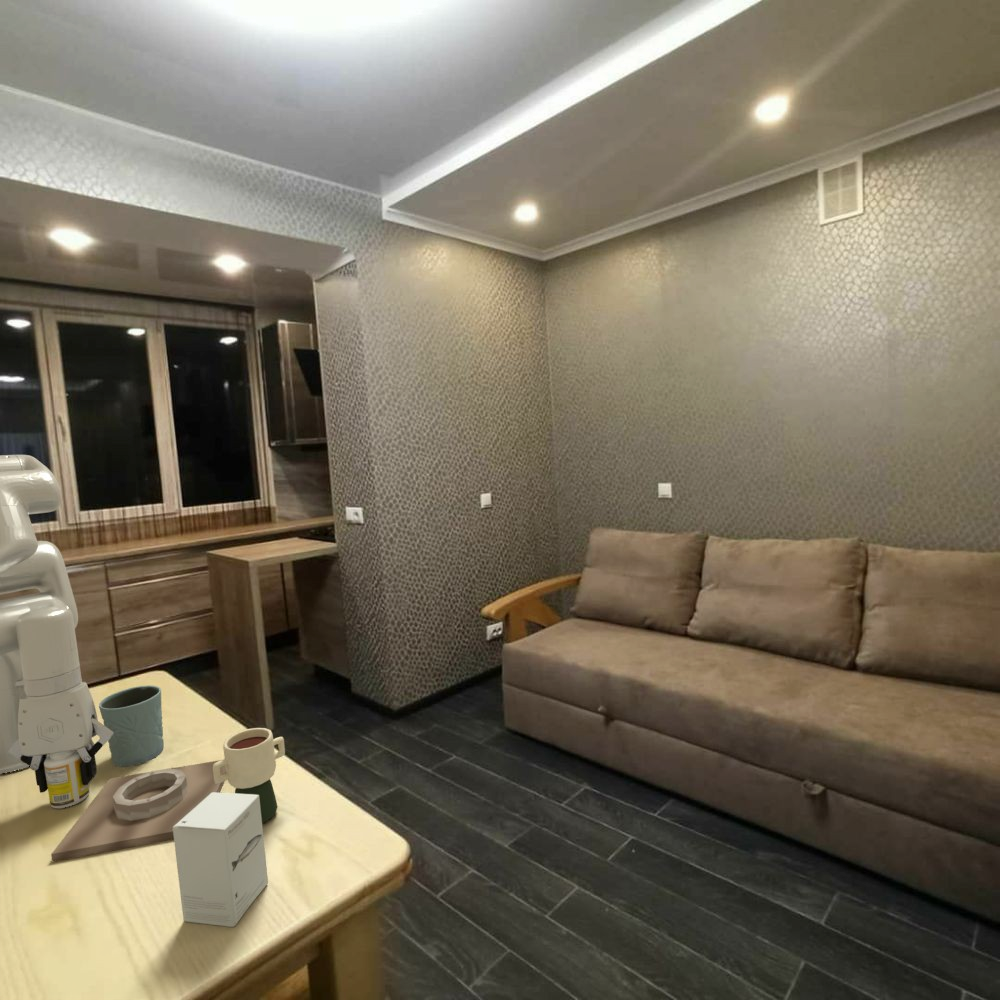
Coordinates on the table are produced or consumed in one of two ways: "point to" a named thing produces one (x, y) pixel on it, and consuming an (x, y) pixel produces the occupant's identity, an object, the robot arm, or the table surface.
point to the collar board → (138, 810)
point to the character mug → (251, 766)
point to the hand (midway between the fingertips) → (68, 783)
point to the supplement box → (220, 858)
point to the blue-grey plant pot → (134, 724)
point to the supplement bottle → (65, 779)
